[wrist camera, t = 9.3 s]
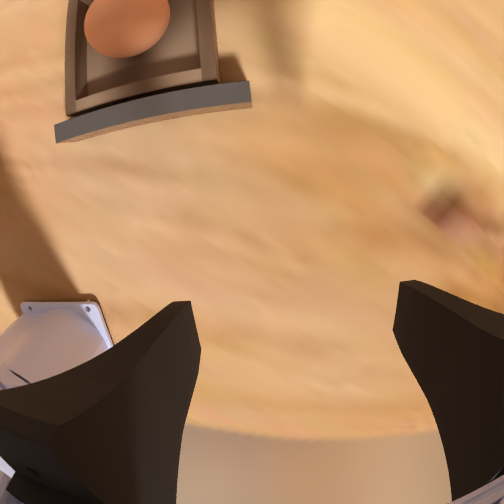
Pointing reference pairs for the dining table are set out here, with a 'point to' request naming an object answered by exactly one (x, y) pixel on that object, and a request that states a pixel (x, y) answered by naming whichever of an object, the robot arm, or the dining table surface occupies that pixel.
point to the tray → (141, 60)
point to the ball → (125, 26)
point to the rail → (156, 110)
